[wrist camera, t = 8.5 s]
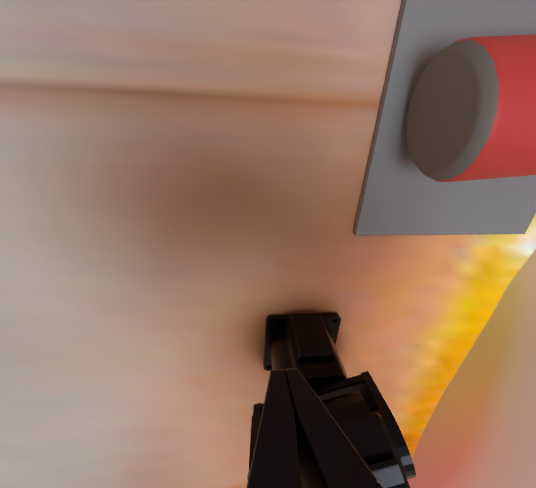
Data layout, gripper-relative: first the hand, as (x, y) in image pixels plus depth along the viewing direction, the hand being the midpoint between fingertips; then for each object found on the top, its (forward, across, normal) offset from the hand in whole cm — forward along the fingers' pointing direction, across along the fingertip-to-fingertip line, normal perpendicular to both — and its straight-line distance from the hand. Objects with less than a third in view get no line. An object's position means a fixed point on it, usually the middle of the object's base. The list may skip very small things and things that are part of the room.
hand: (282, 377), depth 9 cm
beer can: (+9, -8, -7) cm, 14 cm away
